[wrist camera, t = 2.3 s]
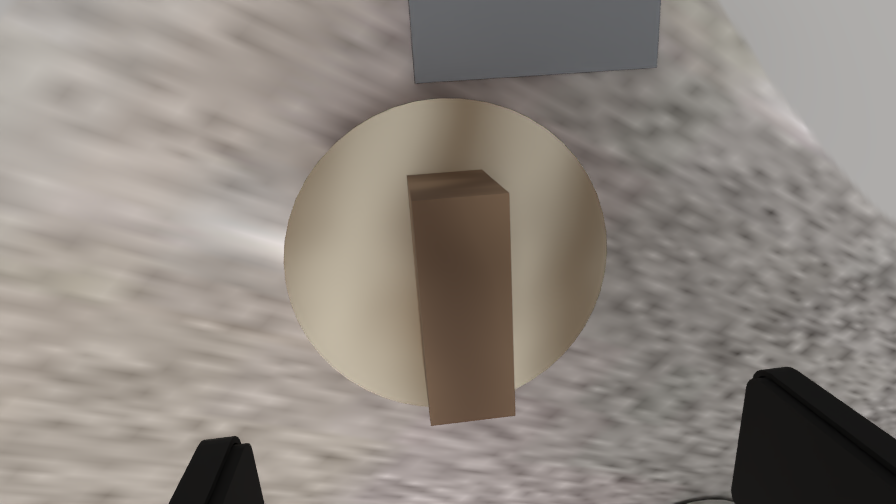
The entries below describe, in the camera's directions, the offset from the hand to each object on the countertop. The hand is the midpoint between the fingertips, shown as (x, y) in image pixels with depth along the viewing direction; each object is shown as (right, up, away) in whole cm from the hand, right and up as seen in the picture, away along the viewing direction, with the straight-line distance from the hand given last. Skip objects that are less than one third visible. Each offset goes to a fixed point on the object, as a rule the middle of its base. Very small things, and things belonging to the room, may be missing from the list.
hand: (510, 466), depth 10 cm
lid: (-1, +4, +13) cm, 14 cm away
